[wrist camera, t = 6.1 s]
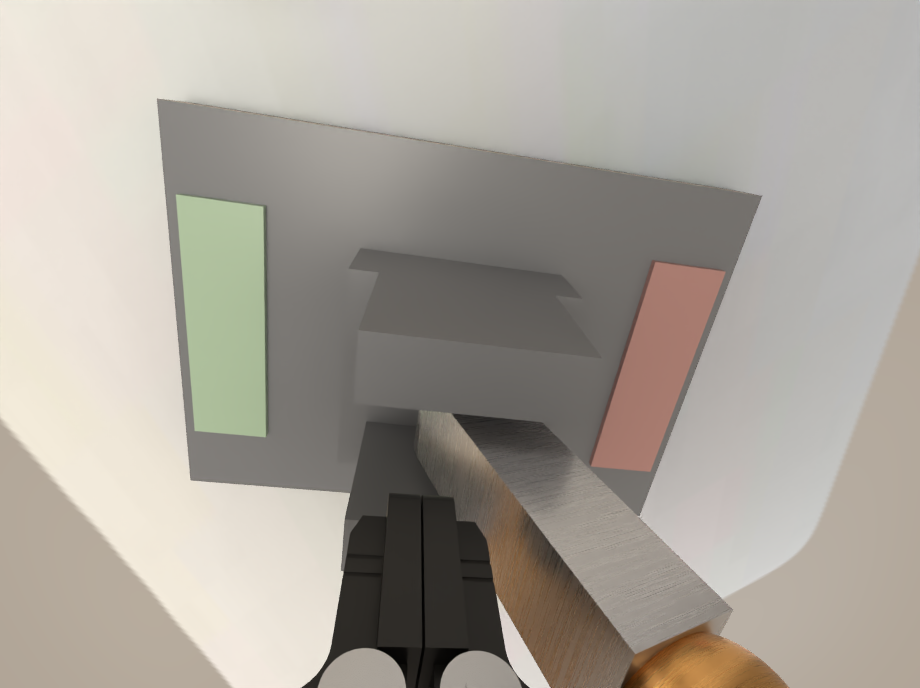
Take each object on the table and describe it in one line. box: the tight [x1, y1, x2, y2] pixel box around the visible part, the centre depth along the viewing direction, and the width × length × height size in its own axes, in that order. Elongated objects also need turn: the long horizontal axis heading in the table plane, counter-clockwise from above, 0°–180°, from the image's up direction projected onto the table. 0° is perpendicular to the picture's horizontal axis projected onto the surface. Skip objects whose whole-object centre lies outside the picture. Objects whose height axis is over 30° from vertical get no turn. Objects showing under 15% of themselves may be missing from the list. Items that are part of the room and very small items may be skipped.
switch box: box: [157, 99, 762, 571], centre depth 18 cm, size 16×22×10 cm
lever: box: [414, 410, 789, 688], centre depth 12 cm, size 3×3×13 cm
